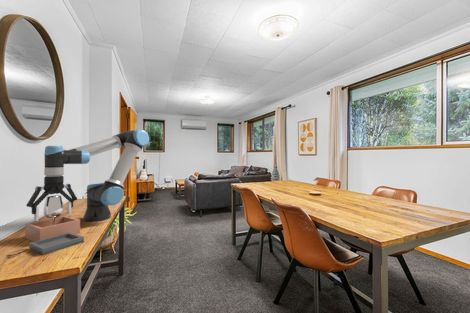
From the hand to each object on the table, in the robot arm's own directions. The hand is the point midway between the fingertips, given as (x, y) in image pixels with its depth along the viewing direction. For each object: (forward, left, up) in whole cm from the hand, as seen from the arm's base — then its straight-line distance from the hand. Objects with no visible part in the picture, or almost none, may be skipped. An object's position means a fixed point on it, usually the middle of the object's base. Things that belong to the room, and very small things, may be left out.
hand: (53, 217), depth 106 cm
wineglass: (0, 0, -10) cm, 10 cm away
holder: (0, 0, -9) cm, 9 cm away
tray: (+5, +17, -9) cm, 20 cm away
